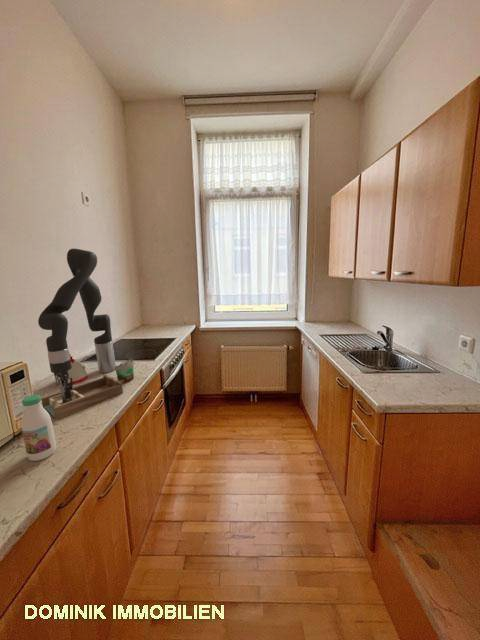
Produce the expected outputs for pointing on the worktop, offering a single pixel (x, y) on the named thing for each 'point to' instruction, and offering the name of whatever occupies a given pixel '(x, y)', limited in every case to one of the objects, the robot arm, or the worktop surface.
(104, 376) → the bay
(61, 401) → the grey beige boxy piece
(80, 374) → the kitchen timer
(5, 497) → the worktop surface
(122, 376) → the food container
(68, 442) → the worktop surface
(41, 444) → the milk bottle
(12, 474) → the worktop surface
